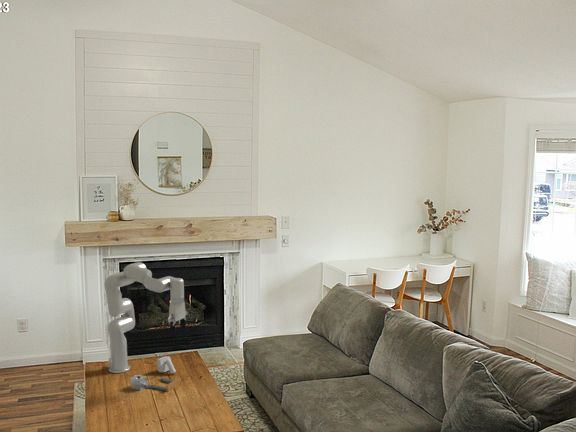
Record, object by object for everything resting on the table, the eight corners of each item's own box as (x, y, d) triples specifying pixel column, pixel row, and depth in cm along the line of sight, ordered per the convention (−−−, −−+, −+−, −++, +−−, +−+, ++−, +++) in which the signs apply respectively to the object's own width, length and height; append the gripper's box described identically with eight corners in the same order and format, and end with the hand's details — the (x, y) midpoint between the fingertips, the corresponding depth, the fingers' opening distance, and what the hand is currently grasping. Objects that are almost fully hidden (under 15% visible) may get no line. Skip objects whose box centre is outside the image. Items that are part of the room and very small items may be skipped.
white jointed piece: (170, 376, 335) (167, 359, 335) (159, 376, 341) (156, 359, 341) (180, 371, 341) (177, 355, 341) (169, 372, 347) (166, 355, 348)
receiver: (145, 387, 319) (145, 382, 319) (161, 379, 332) (161, 373, 331) (166, 392, 313) (166, 386, 312) (182, 383, 325) (182, 377, 325)
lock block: (131, 388, 319) (130, 377, 318) (137, 384, 324) (137, 373, 323) (140, 390, 316) (140, 379, 315) (147, 386, 321) (146, 375, 320)
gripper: (181, 296, 331) (181, 324, 333) (162, 303, 316) (163, 332, 318) (191, 297, 328) (192, 326, 330) (173, 304, 313) (174, 334, 314)
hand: (178, 329), depth 324 cm, fingers open, 9 cm apart
